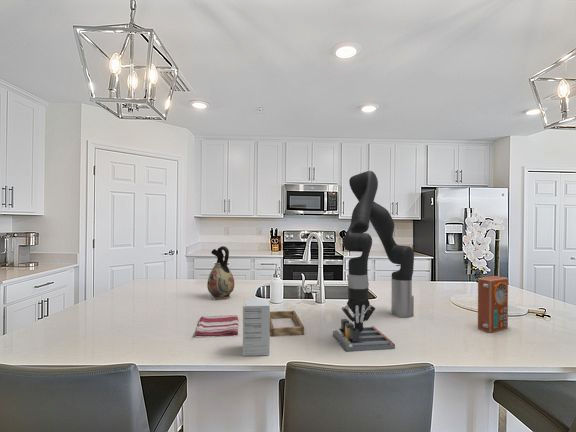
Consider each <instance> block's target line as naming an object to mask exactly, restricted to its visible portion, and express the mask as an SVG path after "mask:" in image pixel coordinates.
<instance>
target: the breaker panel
mask: <svg viewBox="0 0 576 432" xmlns="http://www.w3.org/2000/svg"><path fill="white" fill-rule="evenodd" d="M345 323H350V319H349V318H341V320H340V328H339V327H337V328H336V327H335V330H333V331H332V335H333V337H336V338H335V339H336V341H337V342H338V343H339V342H340V343H339V344H340V345H341V346H343V347H342V348H343V349H344V351H345V352H359V351H360V352H363V351H374V350H375V351H378V350H379V351H380V350H392V349H393V350H395V349H396V343H394V342H393V341H392V340H391V339H390V338H389V337H387V335H385V334H383V333H382V332H381V331H380V330H379V329H378V328H376V327H375V326H373V325H372V326H363V331H362V332H361V333H359V330H358V329H357V328H350V337H345Z"/></svg>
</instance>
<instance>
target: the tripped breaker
mask: <svg viewBox="0 0 576 432" xmlns="http://www.w3.org/2000/svg"><path fill="white" fill-rule="evenodd" d="M350 328H354V324H353V323H352V322H349V323H345V337H350Z"/></svg>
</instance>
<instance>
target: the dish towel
mask: <svg viewBox="0 0 576 432" xmlns="http://www.w3.org/2000/svg"><path fill="white" fill-rule="evenodd" d="M194 333H195V334H194V337H195V336H215V337H229V336H230V337H233V336H234V335H235V336H238V334H239V317H238V315H236V314H232V315H214V316H210V315H209V316H208V315H202V316H200V318H199V321H198V325H197V326H196V330H195V332H194ZM235 336H234V337H235Z"/></svg>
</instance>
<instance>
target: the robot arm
mask: <svg viewBox="0 0 576 432" xmlns="http://www.w3.org/2000/svg"><path fill="white" fill-rule="evenodd" d="M348 182H349V187H350V189H351V191H352V194H353V195H354V196H355V198H356V199H357V201H358V202H357V203H356V204H355V206H354V208H353V210H352V214H351V217H350V218H351V219H350V225H349V227H348V229H347V231H346V233H345V234H344V237H343V241H342V245H343V248H344V249H345V250H346V251H348V252H357V253H358V252H360V253H361V255H360V256H357V257H351V258H349V260H348V276H347V301H346V305H344V306H343V307H341V310H342V312H343V313H344V314H345V315H346V316H347V319H348V320H349V321H351V323H352V322H353V323H354V324H353V325H354V328H357V329H358V330H359V333H361V332H362V331H363V327H364V322H367V321H368V320H369V319H370V317H372V314H373V313H374V312H375V310H376V307H374V306H373V305H371V303H370V300H369V296H370V295H369V276H368V275H369V273H368V272H369V271H368V265H369V264H368V263H369V255H370V252H371V249H372V245H373V238H372V236H371V235H370V234H369V233H367V231H369V228H370V223H371V225H372V227H373V229H374V230H375V232H376V234H377V235H378V238H379V240H380V242H381V244H382V246H383V248H384V251H385V254H386V256H387V258H388V261H390V262H391V263H392V264H394V265H400V267H399V270H397V271H396V270H394V271H393V272H392V273H391V309H390V310H391V315H392V316H394V317H398V318H411V317H414V316H415V315H414V314H415V312H414V311H415V309H414V308H415V307H414V305H415V304H414V302H415V301H414V295H413V274H414V265H415V263H414V261H415V253H414V250H413V247H411V246H409V245H401V244H397V242H396V241H395V239H394V231H395V221H394V219H393V217H392V216H391V213H390V212H389V210H388V209H386V208H385V207H384V206H382V205H381V204H379V203H377V202H375V198H376V195H377V191H378V188H379V181H378V177H377V175H376V173H375V172H374V171H372V170H368V171H364V172H363V171H362V172H361V173H358V174H355V175H352V176H351V177H350V178H349V181H348ZM350 310H351V312H352V315H353V316H352V315H351V313H350Z"/></svg>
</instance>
